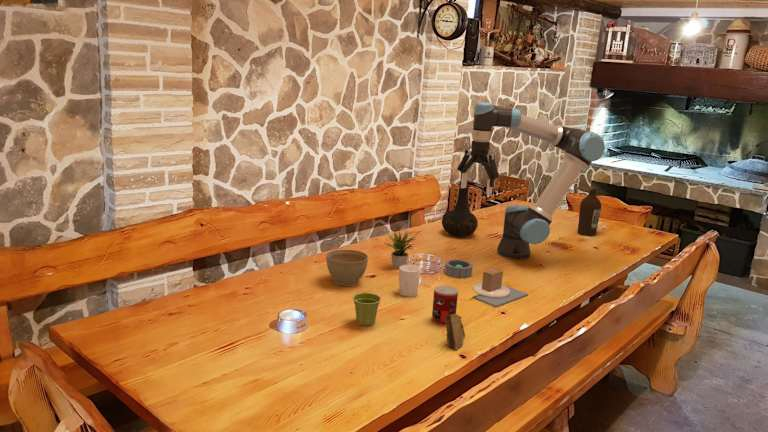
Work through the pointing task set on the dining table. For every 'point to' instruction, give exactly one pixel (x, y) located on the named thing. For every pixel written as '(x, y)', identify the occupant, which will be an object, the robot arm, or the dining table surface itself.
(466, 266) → the bowl
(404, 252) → the house plant
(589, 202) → the olive oil
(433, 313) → the canned food
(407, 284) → the white cup
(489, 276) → the lid
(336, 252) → the planter bowl
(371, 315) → the plant pot
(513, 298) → the mat
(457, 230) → the black vase
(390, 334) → the dining table surface
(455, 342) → the rock
